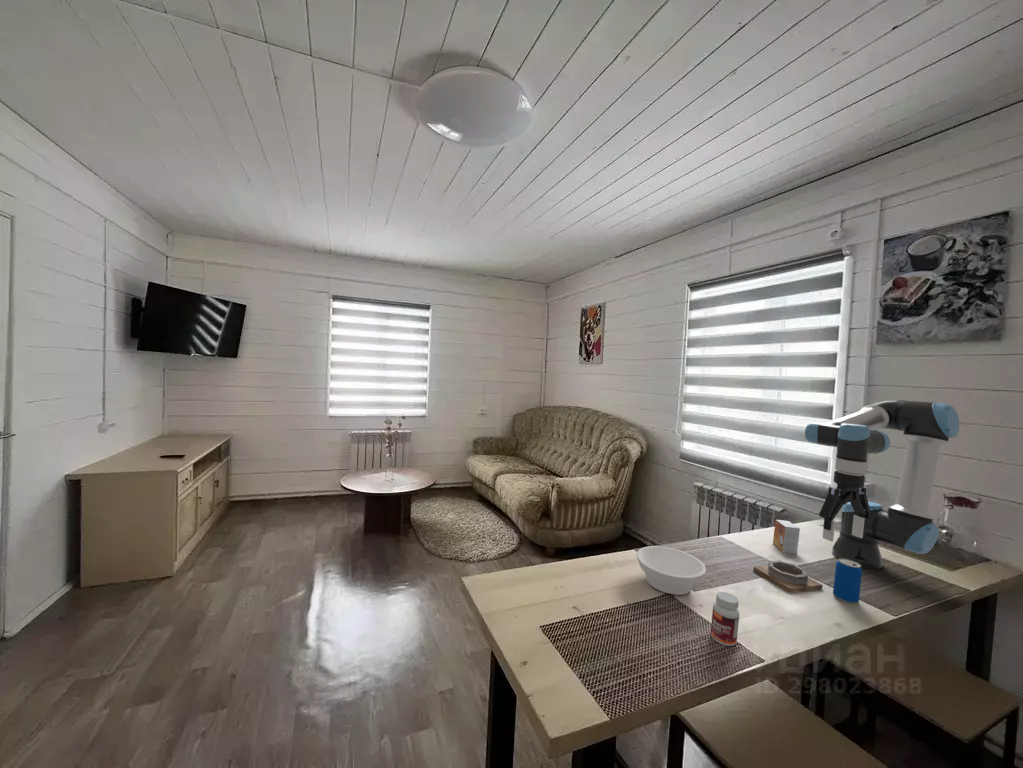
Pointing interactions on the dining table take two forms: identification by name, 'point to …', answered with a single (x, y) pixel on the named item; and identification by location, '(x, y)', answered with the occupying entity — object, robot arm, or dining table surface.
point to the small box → (786, 536)
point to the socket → (787, 576)
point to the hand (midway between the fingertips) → (842, 538)
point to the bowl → (670, 569)
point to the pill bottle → (725, 619)
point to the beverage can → (847, 581)
